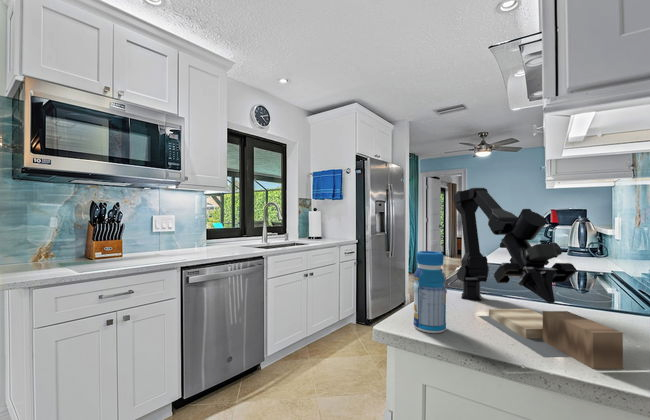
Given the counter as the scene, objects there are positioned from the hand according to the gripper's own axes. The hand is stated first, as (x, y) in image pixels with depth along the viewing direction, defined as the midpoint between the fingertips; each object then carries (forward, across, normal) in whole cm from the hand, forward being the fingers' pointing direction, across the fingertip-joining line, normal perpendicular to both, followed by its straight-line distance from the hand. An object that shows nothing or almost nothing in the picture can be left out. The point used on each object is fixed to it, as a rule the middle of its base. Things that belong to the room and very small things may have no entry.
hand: (552, 302), depth 73 cm
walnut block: (+4, 0, +3) cm, 5 cm away
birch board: (0, 0, +12) cm, 12 cm away
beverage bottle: (+1, -27, +12) cm, 29 cm away
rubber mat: (+4, -2, +9) cm, 10 cm away
